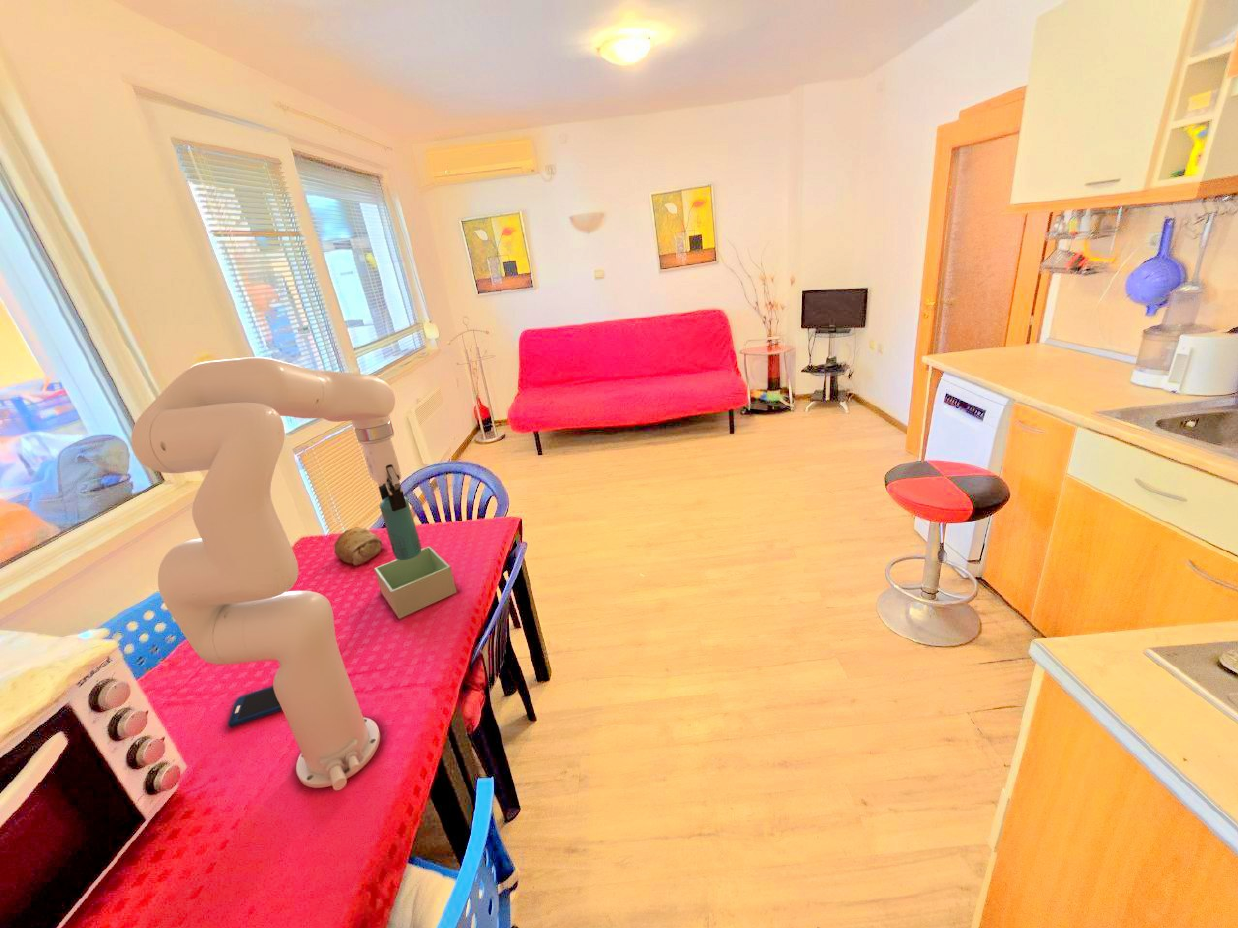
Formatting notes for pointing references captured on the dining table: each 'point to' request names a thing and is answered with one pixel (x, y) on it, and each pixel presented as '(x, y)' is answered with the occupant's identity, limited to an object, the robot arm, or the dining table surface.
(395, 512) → the beverage bottle
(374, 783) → the dining table surface
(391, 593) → the bin
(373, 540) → the pastry
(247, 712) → the cell phone
